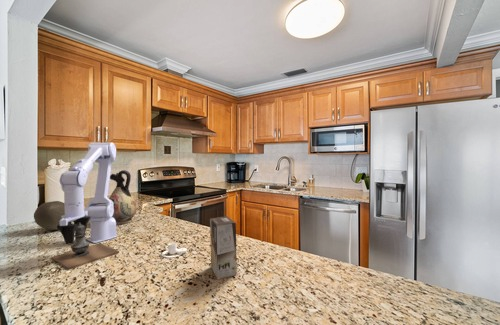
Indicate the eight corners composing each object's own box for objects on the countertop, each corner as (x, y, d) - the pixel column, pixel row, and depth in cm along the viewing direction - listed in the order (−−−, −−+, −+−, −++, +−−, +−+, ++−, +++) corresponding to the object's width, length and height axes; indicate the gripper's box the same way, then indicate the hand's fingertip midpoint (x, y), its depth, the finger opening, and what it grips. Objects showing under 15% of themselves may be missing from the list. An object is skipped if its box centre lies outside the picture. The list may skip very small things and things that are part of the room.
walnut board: (100, 244, 97) (100, 243, 97) (119, 252, 88) (119, 251, 88) (51, 258, 84) (51, 256, 84) (68, 269, 75) (68, 267, 75)
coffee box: (237, 275, 70) (237, 222, 69) (217, 279, 67) (216, 225, 67) (228, 262, 78) (227, 215, 78) (209, 266, 76) (209, 218, 75)
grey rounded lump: (65, 224, 128) (65, 198, 127) (75, 229, 119) (74, 200, 119) (31, 231, 116) (30, 202, 116) (39, 236, 108) (38, 205, 108)
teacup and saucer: (189, 252, 88) (189, 241, 88) (175, 260, 81) (174, 249, 81) (172, 248, 92) (172, 238, 92) (156, 256, 85) (156, 245, 85)
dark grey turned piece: (79, 258, 82) (78, 224, 82) (66, 257, 83) (65, 224, 83) (94, 251, 88) (93, 220, 87) (81, 250, 89) (80, 219, 89)
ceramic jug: (99, 225, 125) (97, 170, 124) (119, 218, 140) (118, 169, 140) (127, 226, 122) (125, 170, 122) (144, 219, 137) (143, 169, 137)
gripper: (73, 200, 91) (74, 234, 91) (48, 207, 77) (49, 248, 77) (93, 199, 93) (93, 232, 93) (72, 206, 78) (73, 246, 78)
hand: (75, 239), depth 85 cm, fingers open, 7 cm apart
